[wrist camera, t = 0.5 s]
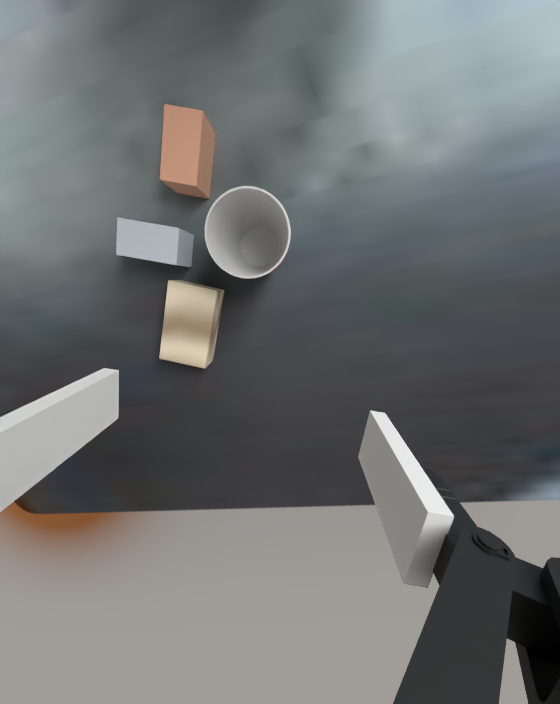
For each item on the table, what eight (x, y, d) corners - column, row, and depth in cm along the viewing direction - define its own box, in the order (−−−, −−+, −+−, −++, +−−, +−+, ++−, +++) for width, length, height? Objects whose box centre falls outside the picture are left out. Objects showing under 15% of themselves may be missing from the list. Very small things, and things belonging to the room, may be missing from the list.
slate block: (138, 258, 38) (116, 254, 33) (140, 225, 37) (117, 217, 32) (191, 267, 38) (176, 265, 33) (194, 235, 37) (179, 228, 32)
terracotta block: (182, 129, 34) (164, 103, 29) (216, 134, 34) (203, 110, 29) (177, 193, 36) (159, 179, 31) (209, 199, 36) (196, 185, 31)
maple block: (181, 280, 38) (168, 279, 35) (224, 289, 38) (217, 290, 35) (171, 351, 41) (159, 358, 37) (213, 360, 41) (205, 368, 37)
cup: (237, 285, 38) (217, 286, 28) (220, 220, 36) (193, 198, 26) (297, 271, 37) (298, 267, 27) (283, 204, 35) (279, 175, 26)
